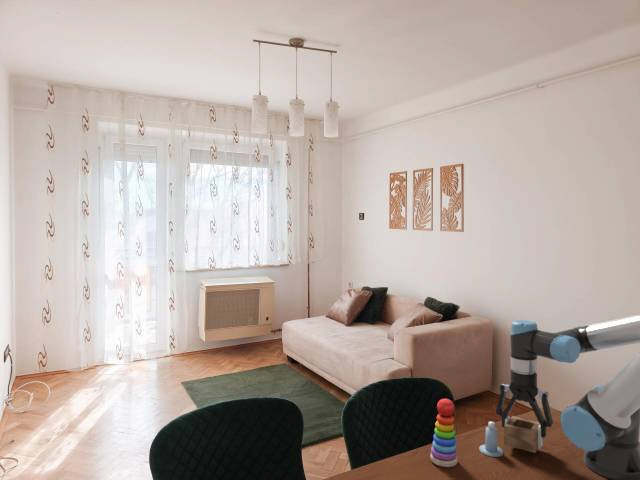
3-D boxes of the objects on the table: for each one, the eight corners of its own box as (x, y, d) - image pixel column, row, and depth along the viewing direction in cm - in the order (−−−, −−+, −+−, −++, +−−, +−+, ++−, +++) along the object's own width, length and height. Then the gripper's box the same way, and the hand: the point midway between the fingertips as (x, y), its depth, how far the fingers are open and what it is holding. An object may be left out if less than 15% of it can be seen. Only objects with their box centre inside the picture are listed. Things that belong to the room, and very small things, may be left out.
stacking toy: (459, 470, 133) (460, 406, 132) (430, 466, 135) (431, 404, 134) (456, 456, 141) (457, 395, 140) (429, 453, 142) (430, 393, 141)
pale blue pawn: (506, 450, 144) (507, 422, 144) (499, 459, 139) (499, 430, 138) (483, 443, 149) (484, 415, 148) (475, 451, 143) (476, 423, 143)
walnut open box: (542, 441, 145) (542, 422, 145) (535, 453, 138) (535, 433, 138) (512, 434, 150) (512, 415, 150) (504, 444, 143) (504, 425, 143)
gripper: (565, 374, 140) (564, 447, 140) (492, 361, 153) (492, 428, 154) (559, 381, 134) (559, 457, 134) (484, 367, 147) (484, 437, 148)
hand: (523, 442), depth 144 cm, fingers closed on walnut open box, 9 cm apart
